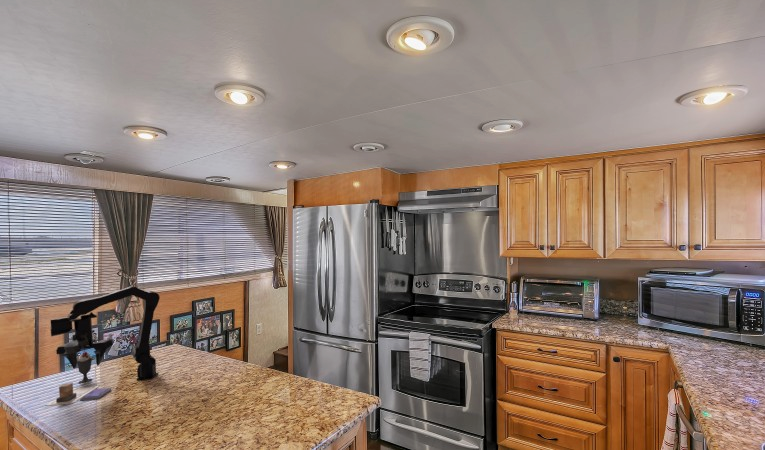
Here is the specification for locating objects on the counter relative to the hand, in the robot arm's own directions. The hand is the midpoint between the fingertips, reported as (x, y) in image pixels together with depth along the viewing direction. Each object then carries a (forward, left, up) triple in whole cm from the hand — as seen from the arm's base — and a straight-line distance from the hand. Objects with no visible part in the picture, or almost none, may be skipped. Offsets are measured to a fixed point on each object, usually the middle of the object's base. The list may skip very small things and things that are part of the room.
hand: (86, 366), depth 153 cm
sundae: (+11, -15, -12) cm, 22 cm away
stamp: (+5, +5, -11) cm, 13 cm away
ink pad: (-5, +3, -11) cm, 13 cm away
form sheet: (+5, +1, -11) cm, 12 cm away
